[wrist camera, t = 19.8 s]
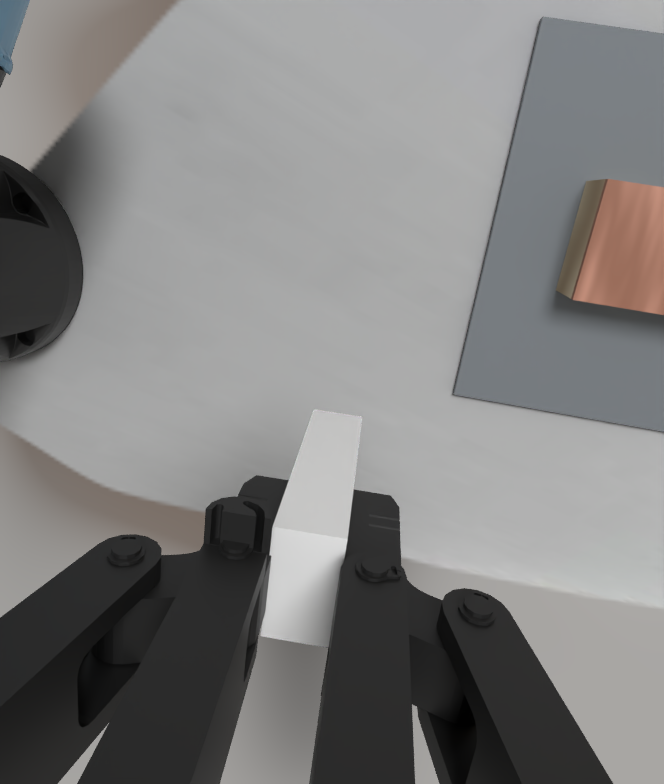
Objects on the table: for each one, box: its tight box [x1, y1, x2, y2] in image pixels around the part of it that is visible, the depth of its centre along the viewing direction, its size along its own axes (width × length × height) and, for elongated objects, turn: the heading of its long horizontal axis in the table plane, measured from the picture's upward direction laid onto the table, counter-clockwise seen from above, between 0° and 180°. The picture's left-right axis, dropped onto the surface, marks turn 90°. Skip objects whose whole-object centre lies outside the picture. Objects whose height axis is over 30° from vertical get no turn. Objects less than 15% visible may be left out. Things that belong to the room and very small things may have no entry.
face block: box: [556, 179, 664, 315], centre depth 35 cm, size 4×7×10 cm
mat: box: [453, 17, 664, 432], centre depth 38 cm, size 18×24×1 cm
